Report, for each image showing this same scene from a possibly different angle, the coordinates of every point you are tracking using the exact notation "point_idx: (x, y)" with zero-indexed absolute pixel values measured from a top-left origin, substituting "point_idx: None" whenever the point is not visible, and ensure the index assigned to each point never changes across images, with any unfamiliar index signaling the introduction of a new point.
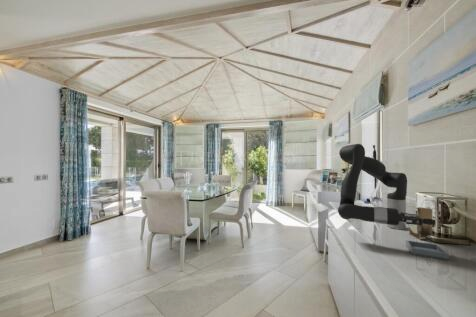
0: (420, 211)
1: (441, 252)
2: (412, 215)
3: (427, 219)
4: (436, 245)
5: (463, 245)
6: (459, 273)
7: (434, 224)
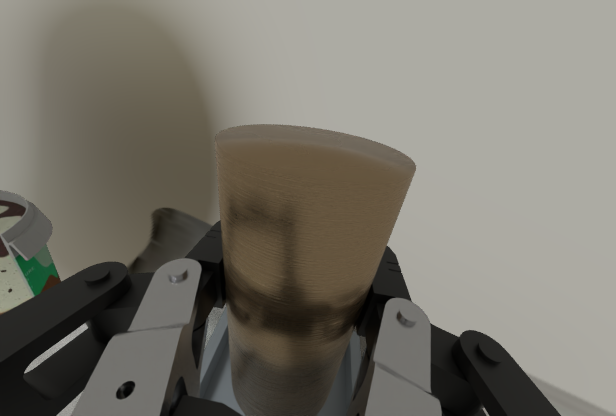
0: (377, 230)
1: (355, 355)
2: (179, 366)
3: (386, 271)
4: None
5: (172, 221)
6: None
7: None
